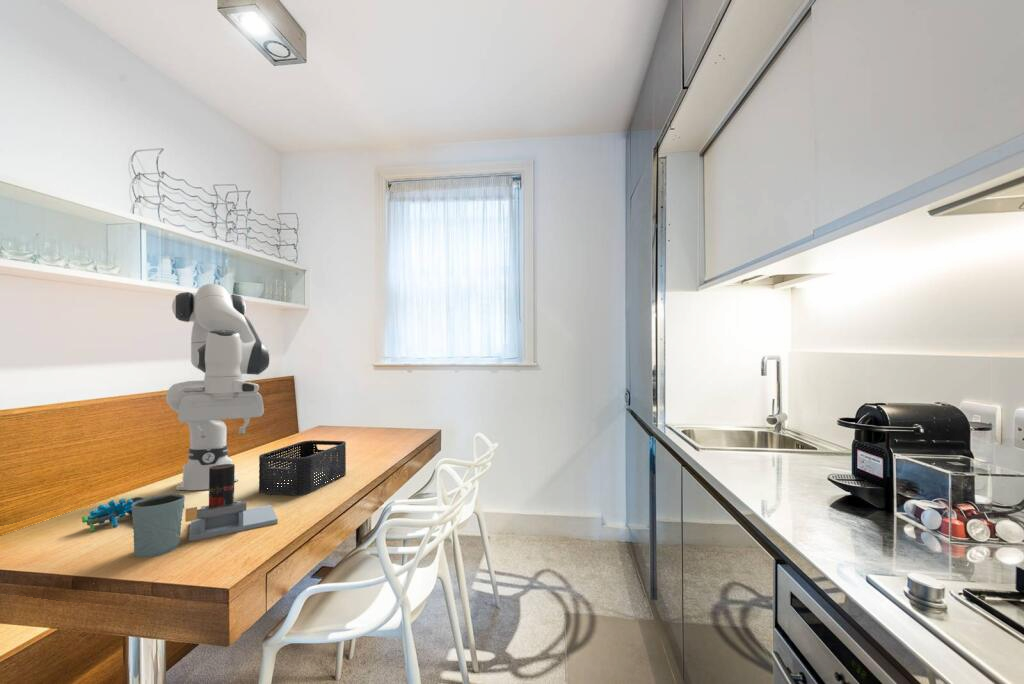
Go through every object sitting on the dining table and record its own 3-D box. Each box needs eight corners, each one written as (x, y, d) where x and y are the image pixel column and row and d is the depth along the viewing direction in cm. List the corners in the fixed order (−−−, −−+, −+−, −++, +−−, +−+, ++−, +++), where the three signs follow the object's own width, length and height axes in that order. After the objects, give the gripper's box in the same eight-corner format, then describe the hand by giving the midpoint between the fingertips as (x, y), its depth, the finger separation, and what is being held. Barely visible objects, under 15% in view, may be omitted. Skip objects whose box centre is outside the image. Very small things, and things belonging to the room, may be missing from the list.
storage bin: (304, 496, 146) (304, 456, 147) (253, 494, 149) (254, 455, 150) (349, 474, 174) (349, 440, 175) (305, 472, 177) (306, 440, 178)
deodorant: (206, 520, 121) (207, 466, 122) (231, 515, 125) (232, 462, 126) (210, 526, 117) (211, 470, 118) (235, 520, 121) (236, 466, 122)
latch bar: (185, 518, 113) (185, 508, 113) (245, 508, 120) (245, 498, 121) (185, 521, 111) (185, 511, 111) (246, 510, 118) (246, 501, 118)
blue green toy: (134, 510, 129) (134, 492, 124) (138, 527, 127) (139, 509, 121) (82, 526, 121) (80, 507, 116) (86, 544, 118) (84, 526, 113)
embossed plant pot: (122, 562, 99) (123, 509, 100) (139, 545, 108) (140, 496, 109) (176, 553, 103) (177, 502, 104) (188, 537, 112) (189, 491, 113)
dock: (191, 523, 122) (191, 506, 123) (271, 508, 134) (271, 493, 134) (189, 541, 110) (189, 522, 110) (277, 523, 122) (277, 506, 122)
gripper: (176, 389, 114) (175, 441, 114) (264, 385, 126) (264, 433, 126) (177, 387, 119) (176, 438, 119) (262, 384, 131) (262, 430, 131)
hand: (222, 435), depth 122 cm, fingers open, 8 cm apart
